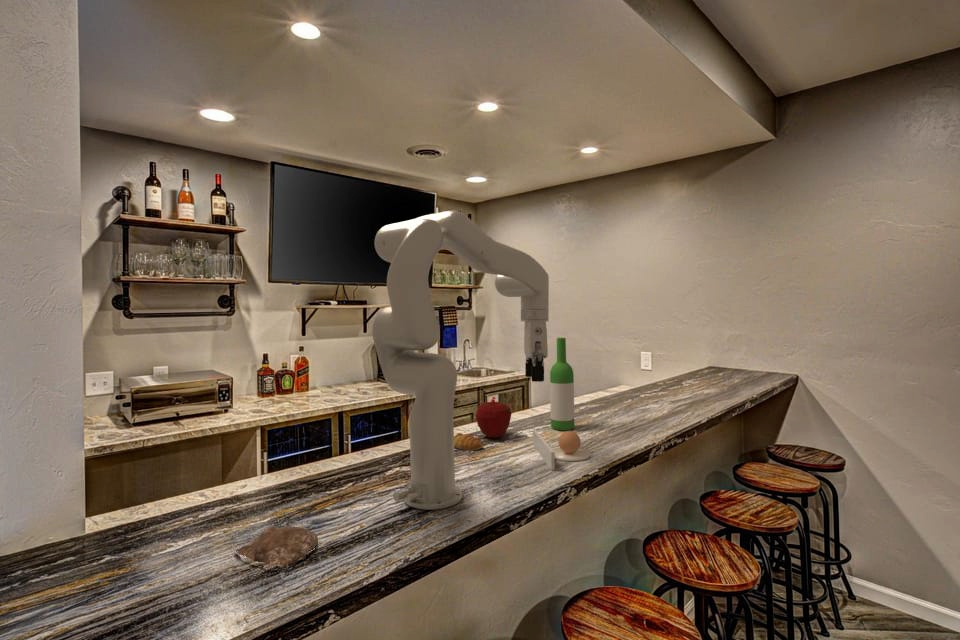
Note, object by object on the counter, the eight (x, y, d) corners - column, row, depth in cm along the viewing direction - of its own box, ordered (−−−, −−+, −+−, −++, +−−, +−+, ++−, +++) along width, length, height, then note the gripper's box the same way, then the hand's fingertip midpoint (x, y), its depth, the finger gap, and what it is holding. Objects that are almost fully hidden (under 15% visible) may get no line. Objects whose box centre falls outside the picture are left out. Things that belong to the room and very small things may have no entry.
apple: (470, 439, 153) (469, 402, 153) (487, 431, 163) (486, 395, 162) (502, 443, 148) (501, 404, 148) (517, 435, 157) (516, 398, 157)
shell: (287, 530, 95) (287, 512, 95) (332, 547, 88) (331, 527, 88) (229, 557, 86) (228, 536, 85) (274, 578, 79) (273, 556, 78)
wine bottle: (578, 427, 166) (576, 337, 164) (569, 432, 159) (567, 339, 158) (556, 424, 170) (554, 336, 169) (546, 429, 163) (545, 338, 162)
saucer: (576, 464, 128) (576, 462, 128) (541, 456, 136) (541, 454, 135) (597, 454, 136) (597, 451, 136) (563, 446, 144) (563, 444, 144)
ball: (573, 457, 132) (573, 434, 132) (554, 453, 136) (554, 431, 136) (584, 452, 136) (584, 430, 136) (566, 448, 140) (565, 427, 140)
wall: (554, 470, 124) (554, 452, 124) (551, 470, 124) (551, 452, 124) (535, 444, 146) (535, 429, 146) (533, 445, 146) (532, 429, 146)
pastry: (488, 447, 145) (487, 435, 145) (473, 454, 140) (473, 440, 140) (463, 442, 151) (463, 430, 151) (448, 448, 146) (448, 435, 145)
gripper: (555, 316, 127) (555, 383, 127) (541, 316, 144) (541, 375, 144) (526, 316, 126) (526, 383, 126) (516, 316, 143) (516, 375, 143)
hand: (534, 379), depth 135 cm, fingers open, 9 cm apart
